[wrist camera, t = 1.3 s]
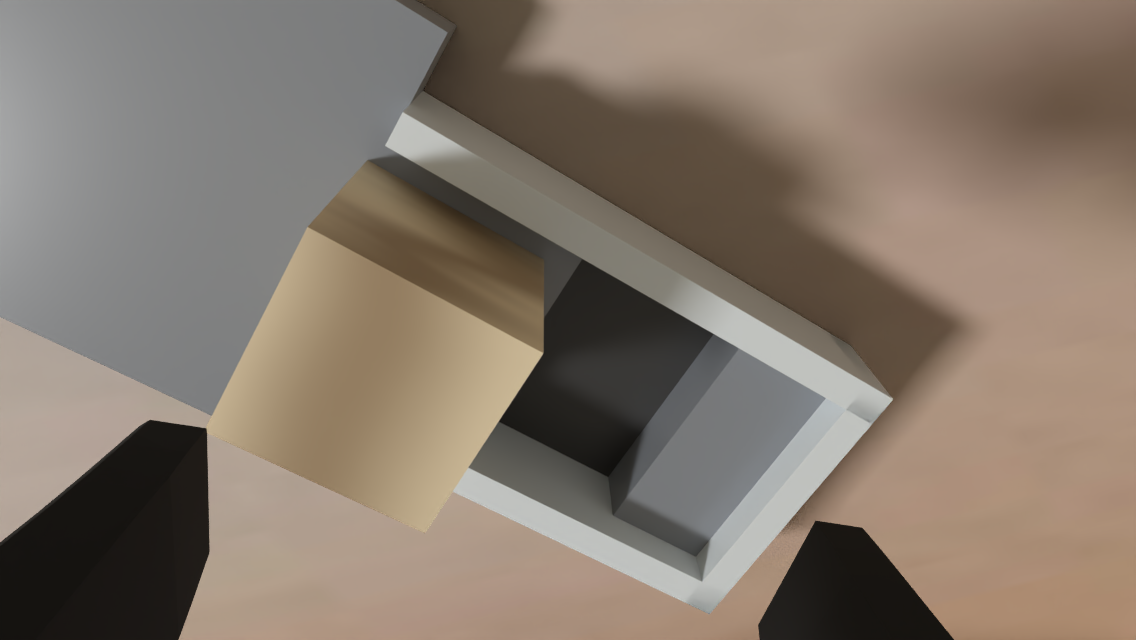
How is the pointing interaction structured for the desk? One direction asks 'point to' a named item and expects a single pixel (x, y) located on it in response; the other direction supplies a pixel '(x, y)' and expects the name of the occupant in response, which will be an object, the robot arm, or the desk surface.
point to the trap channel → (451, 175)
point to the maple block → (387, 349)
